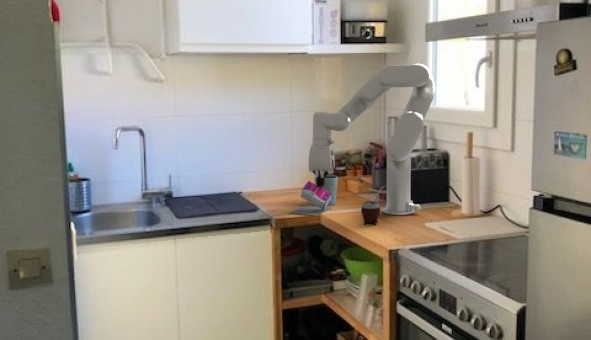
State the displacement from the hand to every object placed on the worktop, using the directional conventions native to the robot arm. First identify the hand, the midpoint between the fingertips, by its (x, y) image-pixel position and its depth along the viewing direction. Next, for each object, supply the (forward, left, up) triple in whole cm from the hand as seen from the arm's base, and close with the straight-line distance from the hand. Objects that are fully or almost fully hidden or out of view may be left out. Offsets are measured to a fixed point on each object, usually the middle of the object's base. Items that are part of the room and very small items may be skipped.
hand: (320, 186), depth 266 cm
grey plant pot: (+4, -14, -11) cm, 18 cm away
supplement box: (-3, 0, -6) cm, 7 cm away
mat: (+4, +2, -10) cm, 11 cm away
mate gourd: (-27, +12, -11) cm, 31 cm away
